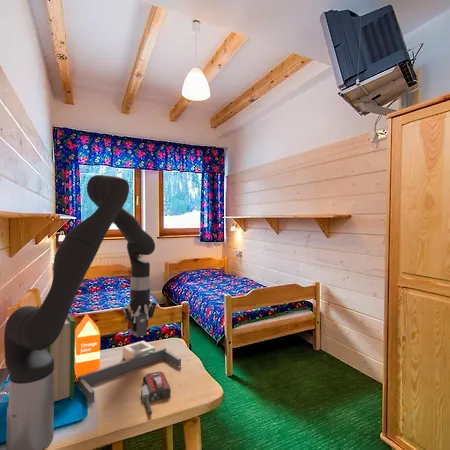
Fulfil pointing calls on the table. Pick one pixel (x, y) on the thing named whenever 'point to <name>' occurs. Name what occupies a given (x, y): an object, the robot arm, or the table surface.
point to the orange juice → (87, 347)
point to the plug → (141, 325)
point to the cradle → (122, 369)
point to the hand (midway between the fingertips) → (139, 329)
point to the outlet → (136, 350)
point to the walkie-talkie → (154, 388)
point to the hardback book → (64, 360)
